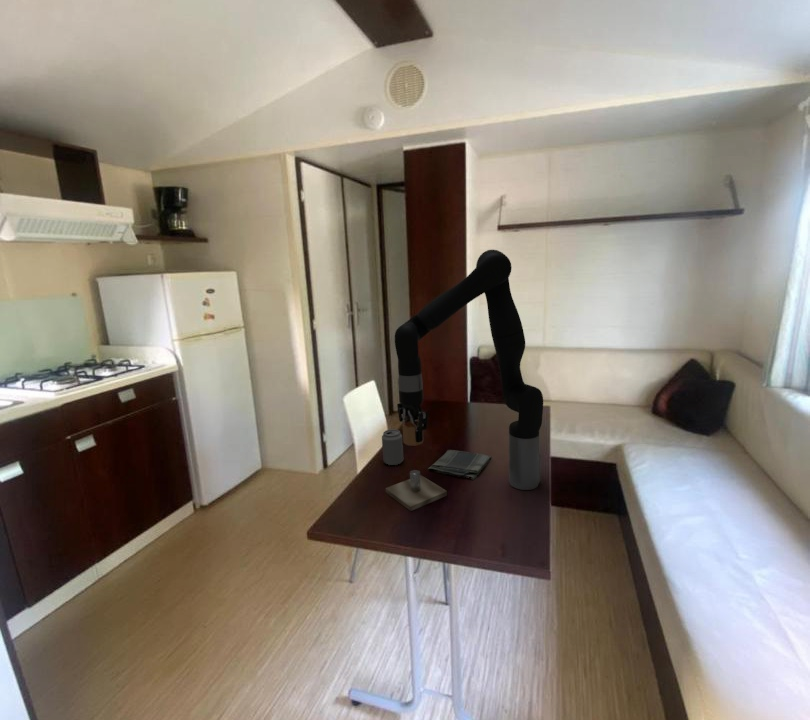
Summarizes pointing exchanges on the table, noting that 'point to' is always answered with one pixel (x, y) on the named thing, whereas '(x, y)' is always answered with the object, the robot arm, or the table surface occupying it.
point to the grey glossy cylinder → (415, 481)
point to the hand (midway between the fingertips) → (413, 438)
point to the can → (392, 447)
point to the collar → (409, 434)
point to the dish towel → (460, 464)
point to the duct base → (416, 493)
